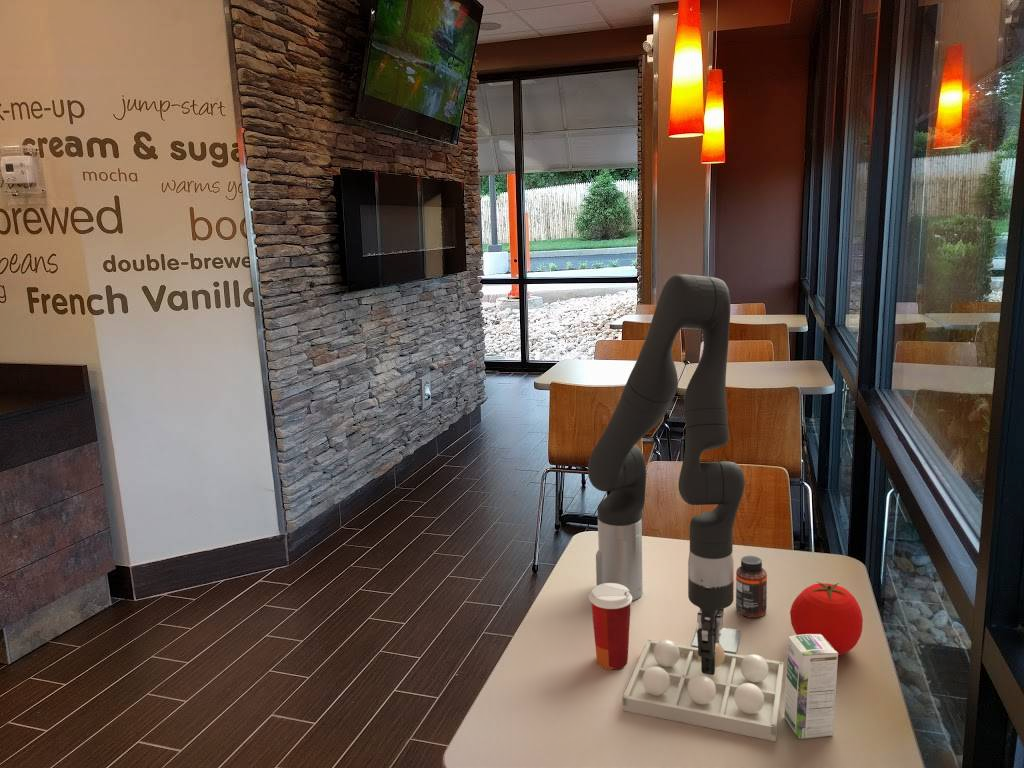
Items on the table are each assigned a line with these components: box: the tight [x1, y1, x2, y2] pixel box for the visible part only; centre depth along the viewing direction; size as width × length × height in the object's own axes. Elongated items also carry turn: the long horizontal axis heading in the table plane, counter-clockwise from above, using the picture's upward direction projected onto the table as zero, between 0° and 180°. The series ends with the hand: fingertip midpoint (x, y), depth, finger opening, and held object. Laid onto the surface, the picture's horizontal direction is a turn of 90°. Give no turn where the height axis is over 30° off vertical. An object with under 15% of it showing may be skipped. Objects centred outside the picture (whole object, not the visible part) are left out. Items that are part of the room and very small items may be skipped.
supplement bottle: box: [735, 555, 768, 618], centre depth 155 cm, size 6×6×11 cm
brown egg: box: [697, 643, 725, 668], centre depth 134 cm, size 5×5×5 cm
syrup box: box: [783, 634, 839, 740], centre depth 120 cm, size 6×6×14 cm
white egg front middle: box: [687, 675, 716, 705], centre depth 127 cm, size 5×5×5 cm
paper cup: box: [588, 583, 633, 670], centre depth 140 cm, size 8×8×14 cm
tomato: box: [789, 581, 864, 656], centre depth 141 cm, size 12×12×13 cm
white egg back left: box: [654, 639, 680, 667], centre depth 137 cm, size 5×5×5 cm
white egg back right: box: [740, 653, 769, 683], centre depth 132 cm, size 5×5×5 cm
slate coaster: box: [691, 627, 742, 654], centre depth 147 cm, size 8×8×1 cm
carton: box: [622, 639, 785, 742], centre depth 131 cm, size 24×18×6 cm
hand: (710, 664), depth 135 cm, fingers closed on brown egg, 4 cm apart
